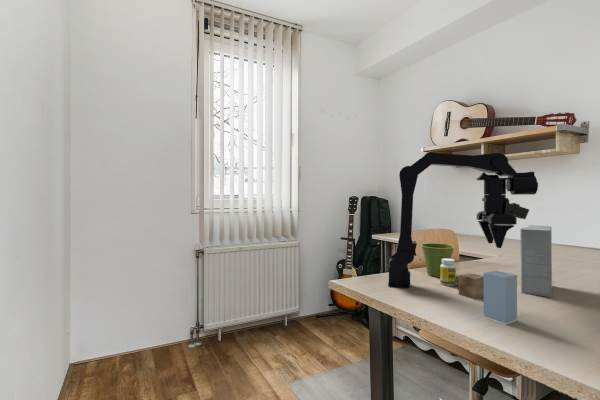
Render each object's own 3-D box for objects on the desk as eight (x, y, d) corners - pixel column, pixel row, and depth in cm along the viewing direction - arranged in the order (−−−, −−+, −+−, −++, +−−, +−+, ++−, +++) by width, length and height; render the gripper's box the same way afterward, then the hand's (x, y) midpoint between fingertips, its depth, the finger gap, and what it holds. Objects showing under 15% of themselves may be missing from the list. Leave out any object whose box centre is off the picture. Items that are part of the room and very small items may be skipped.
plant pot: (414, 272, 120) (414, 243, 120) (438, 270, 123) (438, 242, 123) (435, 280, 108) (435, 248, 108) (462, 277, 112) (462, 247, 112)
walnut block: (458, 294, 93) (458, 275, 93) (469, 292, 95) (469, 273, 95) (474, 299, 88) (474, 278, 88) (485, 296, 91) (485, 276, 91)
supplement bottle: (449, 286, 101) (449, 261, 101) (437, 283, 105) (437, 258, 105) (458, 284, 103) (458, 260, 103) (446, 281, 107) (446, 257, 107)
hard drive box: (523, 281, 106) (523, 224, 106) (551, 285, 101) (552, 225, 101) (519, 292, 94) (520, 228, 94) (552, 298, 89) (552, 229, 89)
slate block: (483, 317, 75) (483, 272, 75) (495, 313, 78) (495, 270, 78) (505, 324, 71) (505, 277, 71) (516, 320, 73) (517, 274, 73)
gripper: (538, 194, 83) (538, 252, 83) (514, 194, 100) (514, 242, 100) (491, 194, 86) (491, 250, 86) (476, 195, 104) (476, 240, 104)
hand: (494, 245), depth 94 cm, fingers open, 9 cm apart
